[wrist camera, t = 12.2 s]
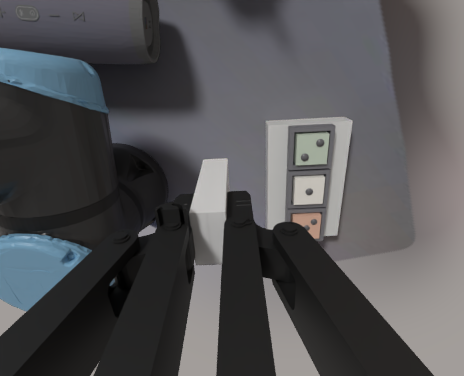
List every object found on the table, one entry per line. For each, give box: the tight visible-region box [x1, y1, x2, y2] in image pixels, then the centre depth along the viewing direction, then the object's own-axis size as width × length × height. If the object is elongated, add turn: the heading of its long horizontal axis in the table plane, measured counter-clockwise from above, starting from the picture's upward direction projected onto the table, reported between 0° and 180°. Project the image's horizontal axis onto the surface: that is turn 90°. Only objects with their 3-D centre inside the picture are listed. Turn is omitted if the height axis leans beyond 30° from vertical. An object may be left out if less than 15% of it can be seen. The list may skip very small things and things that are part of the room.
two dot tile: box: [293, 131, 330, 165], centre depth 40 cm, size 4×4×2 cm
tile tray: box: [265, 117, 353, 241], centre depth 44 cm, size 12×20×5 cm, turn 3°
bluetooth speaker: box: [0, 0, 161, 64], centre depth 32 cm, size 23×9×10 cm, turn 87°
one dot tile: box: [291, 174, 325, 205], centre depth 43 cm, size 4×4×2 cm
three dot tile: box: [290, 212, 321, 239], centre depth 45 cm, size 4×4×2 cm
